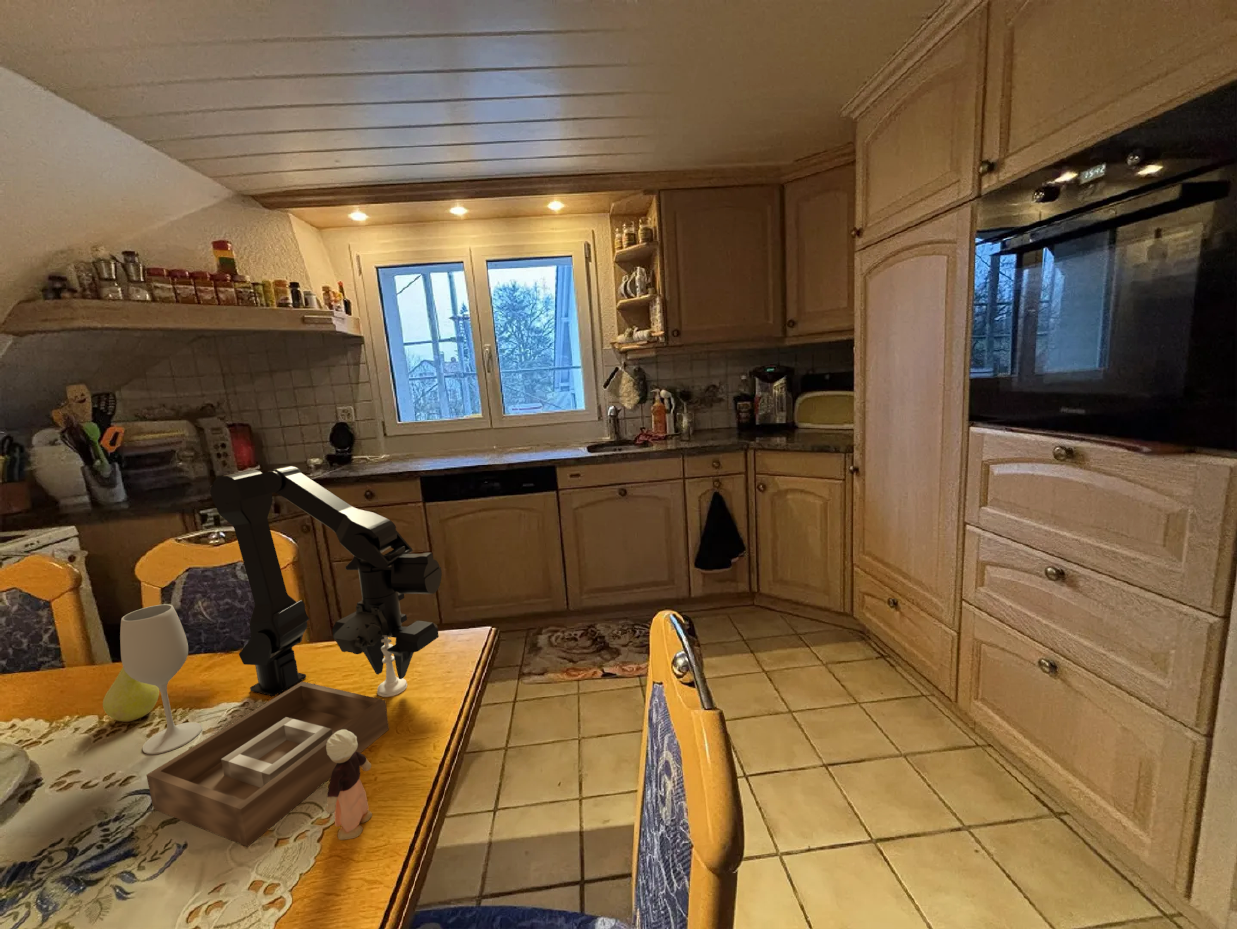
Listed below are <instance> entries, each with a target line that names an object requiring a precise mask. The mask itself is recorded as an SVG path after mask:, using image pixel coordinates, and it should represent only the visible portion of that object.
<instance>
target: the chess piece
mask: <svg viewBox="0 0 1237 929" xmlns="http://www.w3.org/2000/svg"><path fill="white" fill-rule="evenodd" d="M381 642H384V643H385V644H384V646H382V647H381V651H382V652H383V654H384V658H383V660H382V662H383V663H384V664H385V669H386V670H385V674H386V675H385V677H386V678H385V680H383V682H381V683H380V684H378V686H377V691H376V692H377V693H376V694H377V695H378V697H382V698H388V697H394V696H397V695H399V694H401V693H403V692H404V691H405V690H406V689H407V687H408V682H407V680H406V679H405V678H402V679H399V677H398V676H397V675H396V672H395V668H394V665H393V662H395V658H394V655H393V654H392V653H390V652H388V651H387V650H388V649H389V648H391V647H392V646H394V644H393V643H392V639H391V638H389V637H384V639H382V640H381Z"/></svg>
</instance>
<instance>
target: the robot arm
mask: <svg viewBox="0 0 1237 929" xmlns="http://www.w3.org/2000/svg"><path fill="white" fill-rule="evenodd" d="M209 491H210V496H211V497H210V498H211V499H212V501H213V503H214V504H213V505H214V506H215V509H216V511H217V513H218V514H219V516H221V517H222V518H223V519H224V520H225V521H227V522H228V524H230V525H231V526H232V527H233V530H234V533H235V537H236V541H237V543H238V544H237V545H238V547H239V552H240V554H241V559H242V561H243V562H242V563H243V565H244V570H245V573H246V576H247V580H248V584H249V587H250V591H251V594H252V598H253V601H254V602H253V603H254V607H253V610H252V614H251V617H250V620H249V630H250V640H249V641H248V642H247V643H246V645H244V647H243V648H242V649H241V651H240V652H239V653H238V656H239V659H240V660H241V662H242V664H243V665H247V666H255V670H256V671H255V672H256V675H257V676H256V678H257V683H256V684H253V685H252V686H251V687H250V688H249V690H250V691H252V692H255V693H258V694H263V695H266V696H267V695H268V696H270V697H276V696H278V694H279V695H280V694H282V693H283V691H284V692H285V691H287V690H288V689H290V688H292V687H293V686H295V685H297V684H298V683H300V682H302V680H304V679H306V677H307V674H306V673H301V672H299V671H298V664H297V660H296V656H295V651H294V649H293V647H295V646H296V645H298V644H301V643H302V641H303V636H304V633H305V631H306V630H308V621H309V620H310V618H309V616H308V614H307V612H306V604H305V602H304V600H302V599H301V600H295V599H294V598H293V597H291V596H290V595H289V593H288V592H287V588H286V585H285V580H284V576H283V573H282V572H283V571H282V570H281V569H282V568H281V565H280V561H279V558H278V555H277V554H278V553H277V550H276V545H275V543H274V542H275V541H274V539H273V535H272V531H271V528H270V524H269V520H268V517H269V514H270V511H271V508H272V505H273V500H274V499H273V493H276V494H278V495H279V496H280V497H282V498H283V499H285V500H287V501H288V502H290V503H291V504H293V505H294V506H296V507H297V508H299V509H300V510H302V511H303V512H305V513H306V514H308V515H310V516H311V517H312V518H314V519H315V520H316V521H318V522H320V523H321V524H323V525H325V526H326V527H327V528H329V529H330V530H332V532H334V533H335V535H336V538H337V540H338V541H339V543H340V545H341V546H342V547H344V549H346V550H347V551H348V552H349V553H350V554H351V555H353V558H352V560H350V562H349V563H348V564H347V565H345V570H347V571H358V578H359V587H360V593H361V600H360V601H358V602H357V603H356V606H355V610H356V611H354V612H352V613H350V614H349V615H347V616H345V617H342V618H340V619H338V620H337V621H335V623H334V625H333V627H332V629H331V630H332V637H333V640H334V641H335V642H336V644H337V646H338V647H339V649H340V650H341V652H343V653H352V654H354V655H361V654H364V656H365V658H366V659H367V661H368V662H369V665H371V668H372V669H373V672H374V673H375V674H376V675H380V674H382V673H383V670H384V664H385V663H383V662H382V660H383V658H385V656H384V654H383V652H382V651H381V647H382V646H384V645H385V643H384V642H381V640H382V639H384V637H388V638H389V639H391V638H395V641H394V643H395V644H393V646H392V647H391V648H389V649H388V650H387V651H388V652H390V653H392V655H393V656H394V658H395V660H394V663H395V668H396V674H397V677H398V678H399V679H402V678H403V679H405V677H406V674H407V672H408V669H409V666H410V664H411V662H412V661H411V660H412V659H413V655H414V653H418V652H419V651H421V650H422V649H424V648H425V647H427V646H428V645H429V644H431V643H433V642H434V641H435V640H436V639H438V638H439V628H438V625H437V624H436V623H434V622H431V621H423V620H416V621H414V622H413V623H411V624H410V625H408V626H405V625H404V626H403V625H402V624H403V623H405V622H406V621H408V617H407V616H408V615H407V614H404V613H402V612H401V611H402V610H401V604H400V601H401V600H403V599H405V595H406V594H407V595H408V594H411V595H414V594H415V595H417V594H419V595H433V594H435V593H436V592H437V591H439V588H440V586H441V582H442V573H443V572H442V567H440V564H439V562H438V561H437V560H436V559H434V555H433V552H422V553H413V548H412V547H411V546H410V545H409V543H408V542H407V541H406V540H405V538H404V537H402V535H401V534H400V533H399V532H398V531H397V526H396V525H395V523H394V522H393V521H392V520H390V519H389V518H387V517H384V516H383V515H380V514H378V513H376V512H372V511H369V510H363V509H359V508H356V507H355V506H352V505H351V504H349V503H348V502H346V501H345V500H343V499H341V498H340V497H338V496H337V495H335V494H334V493H332V492H331V491H329V490H327V488H325V487H323V486H322V485H320V484H319V483H317V482H316V481H314V480H312V479H311V478H309V477H308V476H307V475H305V474H304V473H302V471H301V469H300V468H298V467H296V466H293V465H287V466H286V465H285V466H281V467H277V468H273V469H270V470H268V471H266V472H261V471H260V470H257V469H248V470H244V471H240V472H236V473H230V474H226V475H221V476H219V477H217V478H216V479H215V480H214V481H213V483H212V485H210V488H209ZM388 549H392V550H390V551H388V552H387V553H385V554H383V553H384V552H385V551H387V550H388Z"/></svg>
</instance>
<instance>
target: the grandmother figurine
mask: <svg viewBox="0 0 1237 929" xmlns="http://www.w3.org/2000/svg"><path fill="white" fill-rule="evenodd" d="M357 747H358V743H357V737H356V736H355V735H354V734H353V733H352V732H350V731H348V730H344V729H343V730H339V731H337V732H335V733H334V734H333V735H332V736H331V737H330V738H329V740H328V741H327V744H326V750H327V755H329V757H330V758H331V760H332V761H333V762H335V763H337V764H336V766H335V768H334V769H333V771H332V774H331V778H330V780H329V785H328V789H327V793H326V794H327V795H326V797H327V798H326V804H327V805H326V807H325V812H326V813H327V814H333V813H334V826H335V827H337V828H338V827H340V829H339V830H338V833H337V839H338V840H340V841H344V840H349V839H355V838H358V836H361V834H362V832H363V830H364V828H363V826H362V825H360V824H363V823H366V822H368V821H369V820H371V818H372V817H373V813H372V811H370V810H369V803H368V798H367V792H366V789H365V788H364V785H363V783H362V781H361V778H360V777H361V769H362V771H365V772H367V771H370V770H371V768H372V763H371V762H369V759H367V756H366V755H365V754H362V752H361V753H359V752H356V749H357Z"/></svg>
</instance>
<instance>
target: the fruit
mask: <svg viewBox="0 0 1237 929" xmlns="http://www.w3.org/2000/svg"><path fill="white" fill-rule="evenodd" d="M159 697H160V690H159V688H158V687H157V686H155V685H150V684H146V683H142V682H139V681H137V680H135V679H133V678H131V677H130V676H129V675H128V674H127V673H126V672H125V670H124V667H123V666H122V668H121V670H120V671H119V673H118V675H117V676H116V678H115V679H114V681H113V683H112V684H111V686H110V688H109V689H108V690H107V692H106V694H105V695H104V697H103V701H102V708H103V711H104V712H105V714H106V715H107V716H108V717H110V719H113V720H114V721H115V720H116V721H118V722H133V721H136V720H140V719H141V718H143V717H144V716H146V715H148V714H149V713H150V712H151V711H152V710H153V708H155V706H156V704H157V702H158V701H159V700H158V699H159Z"/></svg>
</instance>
